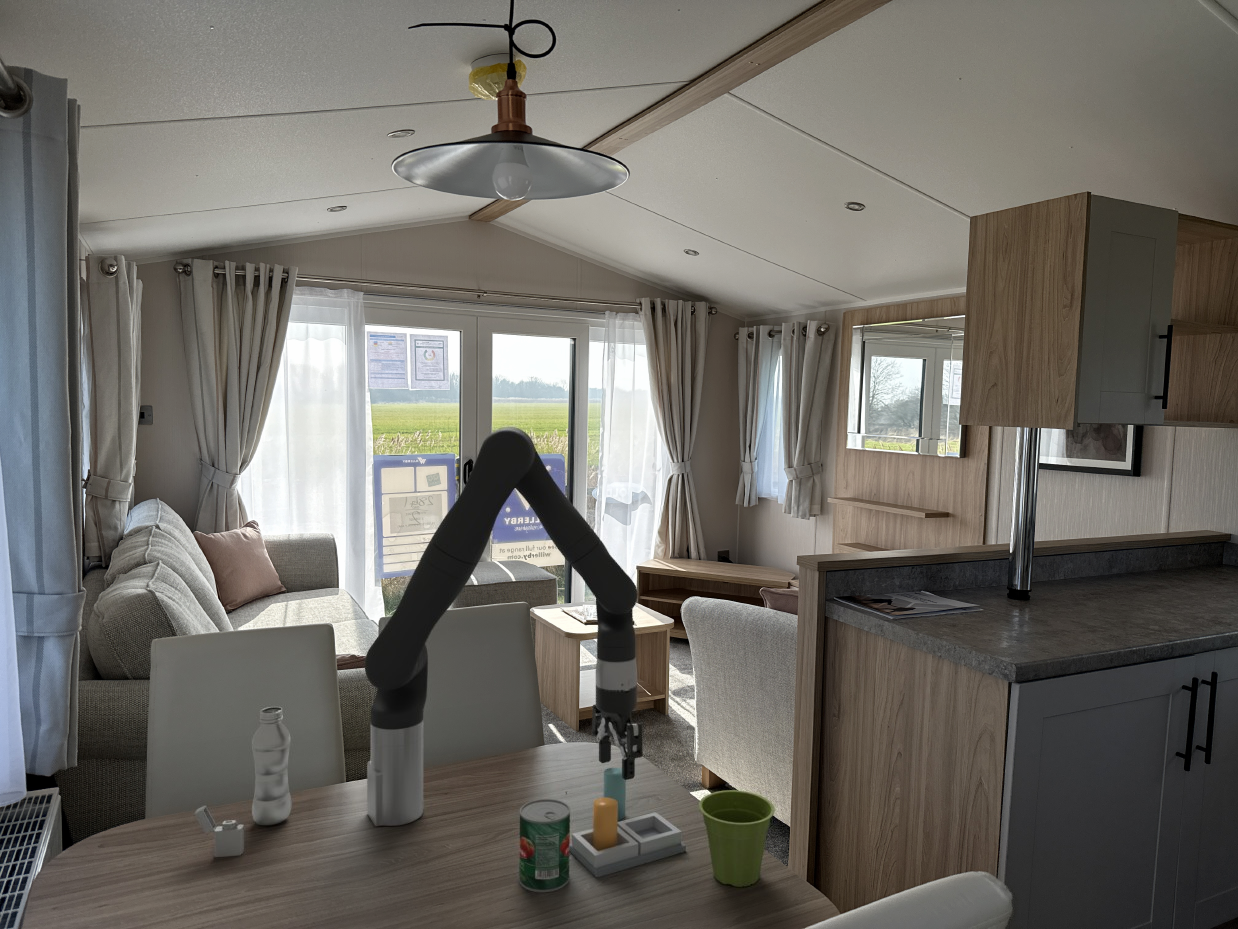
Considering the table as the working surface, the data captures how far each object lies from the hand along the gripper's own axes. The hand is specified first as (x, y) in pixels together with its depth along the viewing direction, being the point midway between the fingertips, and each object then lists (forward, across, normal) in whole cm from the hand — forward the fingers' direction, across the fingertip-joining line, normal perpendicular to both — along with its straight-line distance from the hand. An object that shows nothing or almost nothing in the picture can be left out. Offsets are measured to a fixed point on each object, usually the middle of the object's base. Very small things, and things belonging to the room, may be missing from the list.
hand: (616, 770), depth 151 cm
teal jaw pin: (+8, 0, 0) cm, 8 cm away
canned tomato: (+8, +13, -20) cm, 26 cm away
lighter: (+8, -19, -64) cm, 67 cm away
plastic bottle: (+8, -27, -55) cm, 62 cm away
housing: (+8, +12, -5) cm, 15 cm away
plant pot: (+9, +27, +6) cm, 29 cm away
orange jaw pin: (+7, +12, -9) cm, 16 cm away
